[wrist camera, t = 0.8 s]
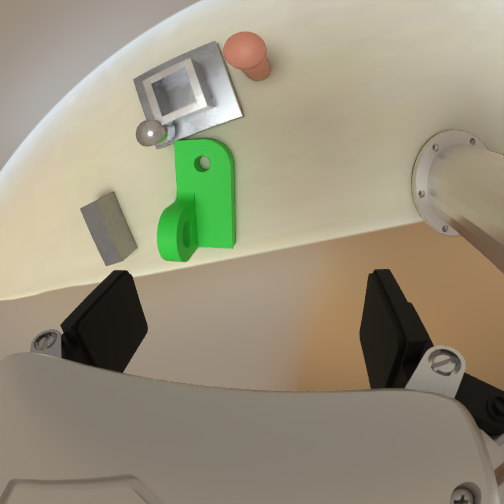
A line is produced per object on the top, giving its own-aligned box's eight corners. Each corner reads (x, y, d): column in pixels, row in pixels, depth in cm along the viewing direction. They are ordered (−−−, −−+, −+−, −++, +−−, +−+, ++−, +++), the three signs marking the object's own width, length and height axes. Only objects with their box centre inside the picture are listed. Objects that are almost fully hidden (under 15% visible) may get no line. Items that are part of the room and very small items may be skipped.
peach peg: (267, 52, 24) (257, 26, 17) (277, 78, 26) (271, 60, 18) (238, 61, 25) (218, 39, 17) (248, 87, 26) (230, 73, 19)
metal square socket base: (217, 43, 24) (203, 30, 20) (243, 116, 28) (234, 114, 23) (138, 80, 27) (113, 76, 22) (161, 148, 30) (139, 153, 26)
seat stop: (113, 191, 33) (95, 200, 30) (137, 247, 36) (122, 261, 33) (98, 199, 34) (80, 208, 30) (121, 252, 37) (106, 266, 33)
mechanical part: (236, 241, 34) (219, 275, 27) (187, 239, 35) (161, 270, 28) (234, 137, 29) (214, 142, 22) (181, 139, 30) (147, 146, 23)
